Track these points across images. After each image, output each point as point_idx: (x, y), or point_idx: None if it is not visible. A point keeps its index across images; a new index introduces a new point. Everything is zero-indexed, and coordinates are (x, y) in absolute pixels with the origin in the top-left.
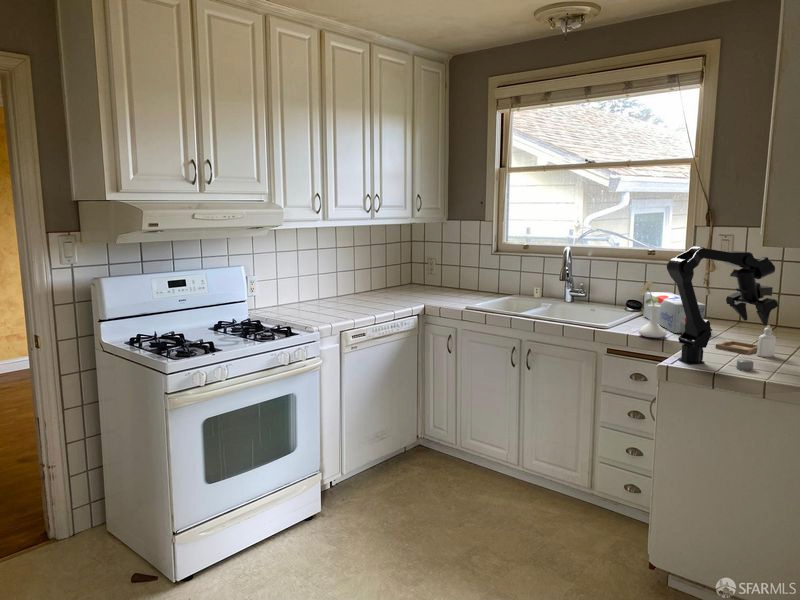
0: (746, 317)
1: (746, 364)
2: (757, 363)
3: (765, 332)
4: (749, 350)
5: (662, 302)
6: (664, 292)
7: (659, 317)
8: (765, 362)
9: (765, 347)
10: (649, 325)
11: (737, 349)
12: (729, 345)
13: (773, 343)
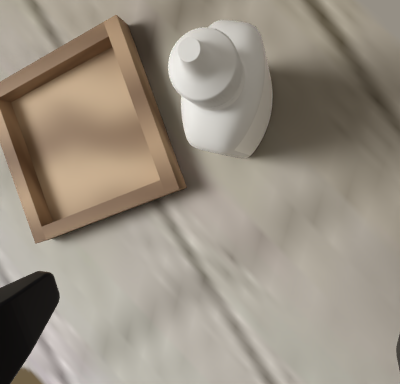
0: (27, 302)
1: None
2: (368, 297)
3: (213, 108)
4: (171, 161)
5: None
6: None
7: None
8: (363, 233)
9: (257, 134)
10: None
11: (135, 206)
12: (28, 135)
13: (267, 68)
